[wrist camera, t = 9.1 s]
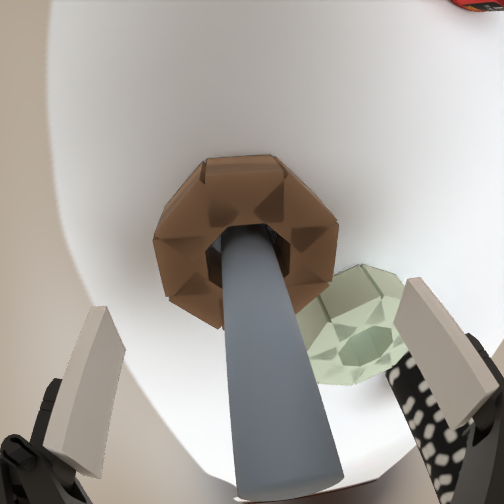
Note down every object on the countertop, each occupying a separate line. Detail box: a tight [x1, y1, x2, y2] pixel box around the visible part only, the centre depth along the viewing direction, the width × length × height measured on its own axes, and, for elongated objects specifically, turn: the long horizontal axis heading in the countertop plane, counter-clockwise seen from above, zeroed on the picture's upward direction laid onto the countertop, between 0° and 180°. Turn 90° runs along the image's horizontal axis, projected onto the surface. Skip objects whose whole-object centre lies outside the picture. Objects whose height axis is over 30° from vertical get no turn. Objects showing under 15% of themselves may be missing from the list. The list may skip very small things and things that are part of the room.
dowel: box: [221, 223, 344, 501], centre depth 13 cm, size 3×3×16 cm
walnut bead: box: [153, 155, 339, 330], centre depth 18 cm, size 10×10×4 cm
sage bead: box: [296, 264, 408, 385], centre depth 23 cm, size 10×10×4 cm
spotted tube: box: [386, 350, 474, 504], centre depth 23 cm, size 8×8×20 cm
